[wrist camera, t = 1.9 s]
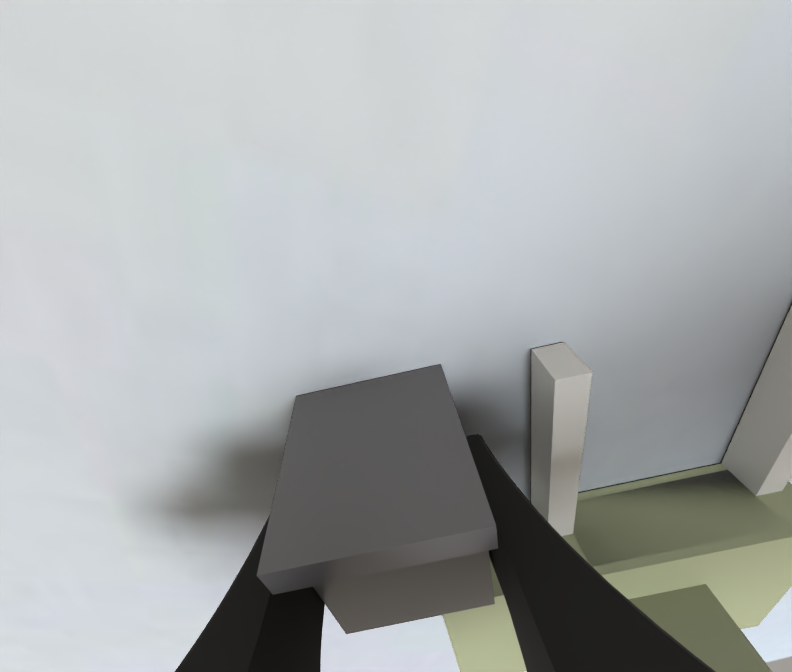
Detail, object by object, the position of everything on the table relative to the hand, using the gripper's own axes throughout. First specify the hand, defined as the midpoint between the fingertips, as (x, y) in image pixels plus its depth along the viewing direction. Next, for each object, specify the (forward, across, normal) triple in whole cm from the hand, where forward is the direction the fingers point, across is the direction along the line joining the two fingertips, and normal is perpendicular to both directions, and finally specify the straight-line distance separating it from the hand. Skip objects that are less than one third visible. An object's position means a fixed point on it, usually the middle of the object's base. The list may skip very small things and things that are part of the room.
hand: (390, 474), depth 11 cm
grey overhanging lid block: (+1, 0, 0) cm, 1 cm away
